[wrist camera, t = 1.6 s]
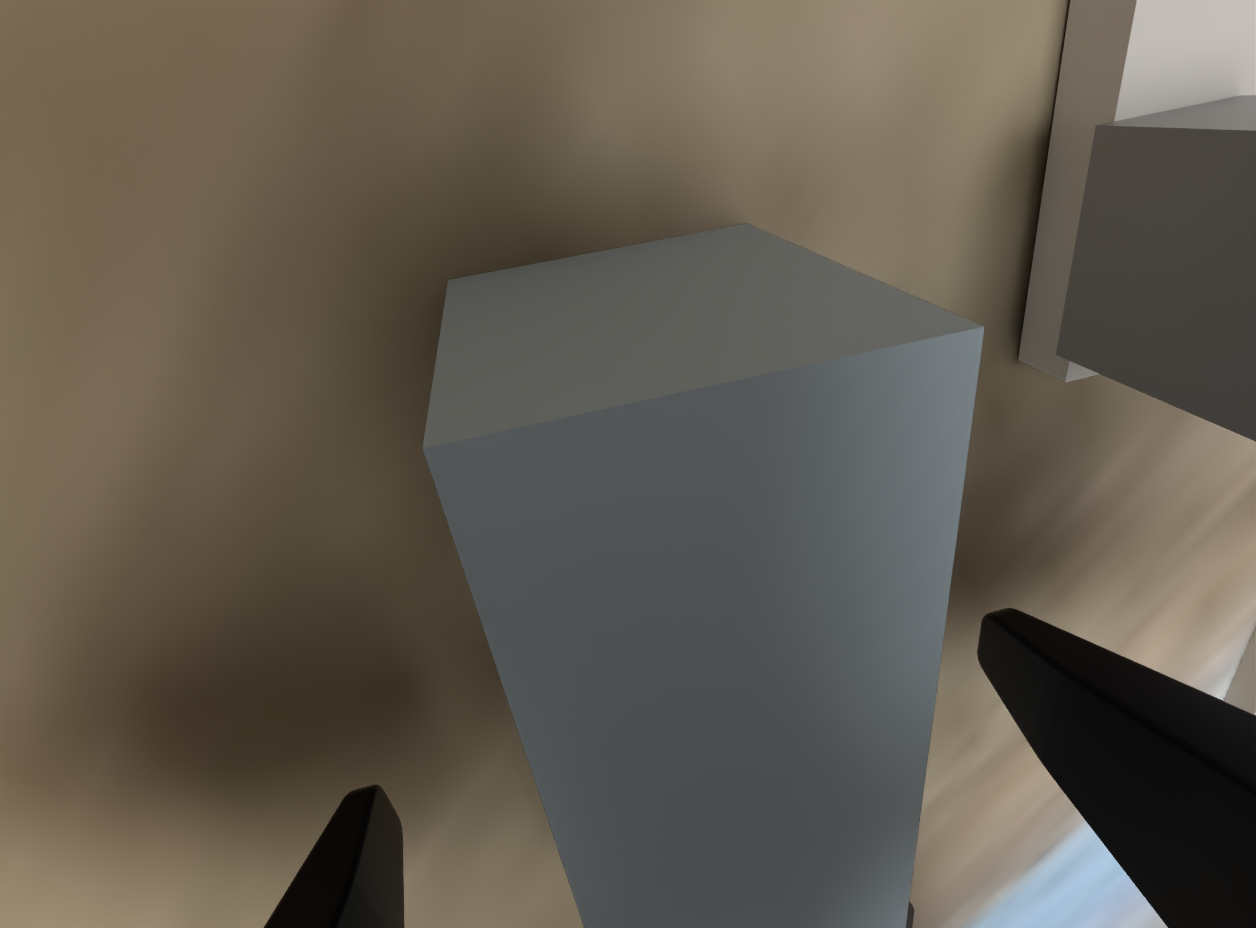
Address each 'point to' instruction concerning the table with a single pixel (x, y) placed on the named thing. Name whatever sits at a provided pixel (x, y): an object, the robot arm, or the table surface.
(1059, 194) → the jig
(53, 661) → the table surface
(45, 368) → the table surface
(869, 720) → the grey rectangular block
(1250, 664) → the plank
